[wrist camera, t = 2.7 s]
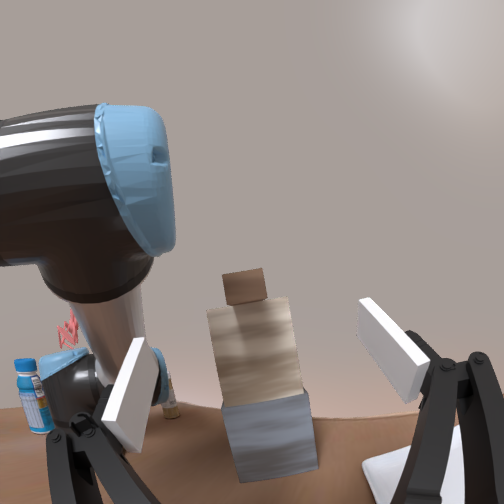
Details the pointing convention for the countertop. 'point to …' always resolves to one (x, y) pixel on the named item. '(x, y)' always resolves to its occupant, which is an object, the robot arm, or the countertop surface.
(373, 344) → the robot arm
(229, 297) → the walnut bar
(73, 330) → the stick figure toy
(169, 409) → the sprinkles bottle
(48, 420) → the beverage bottle
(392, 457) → the salad plate
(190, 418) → the countertop surface
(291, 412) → the tower
